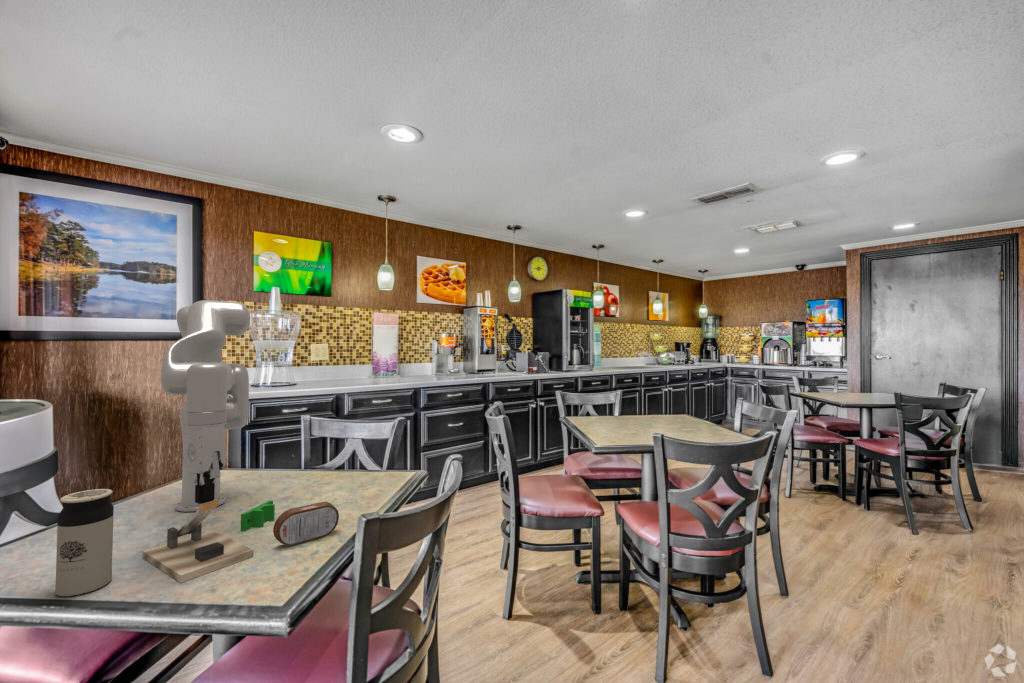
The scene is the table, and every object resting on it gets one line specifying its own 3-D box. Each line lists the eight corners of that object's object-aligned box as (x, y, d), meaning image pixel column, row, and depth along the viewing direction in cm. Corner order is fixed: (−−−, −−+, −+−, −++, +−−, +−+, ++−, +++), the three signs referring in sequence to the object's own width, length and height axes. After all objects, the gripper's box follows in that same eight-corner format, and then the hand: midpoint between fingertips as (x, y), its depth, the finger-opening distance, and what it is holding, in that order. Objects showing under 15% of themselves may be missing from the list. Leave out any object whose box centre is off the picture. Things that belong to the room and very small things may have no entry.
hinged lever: (176, 538, 103) (175, 532, 103) (191, 534, 105) (190, 528, 106) (204, 508, 96) (202, 502, 96) (219, 505, 98) (217, 499, 99)
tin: (335, 530, 116) (335, 497, 116) (340, 533, 114) (340, 500, 114) (272, 547, 105) (273, 511, 106) (276, 551, 103) (277, 515, 103)
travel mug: (84, 576, 91) (87, 488, 92) (122, 577, 91) (124, 488, 92) (42, 597, 83) (45, 500, 84) (83, 598, 83) (86, 501, 84)
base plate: (142, 557, 100) (142, 532, 100) (211, 536, 111) (212, 514, 112) (180, 583, 89) (181, 555, 89) (253, 556, 101) (253, 531, 101)
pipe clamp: (253, 533, 114) (254, 515, 114) (240, 532, 115) (240, 514, 115) (281, 516, 125) (281, 500, 126) (269, 516, 126) (269, 499, 126)
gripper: (172, 418, 100) (170, 500, 100) (203, 423, 92) (200, 513, 92) (209, 414, 107) (207, 491, 106) (241, 419, 99) (239, 503, 98)
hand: (204, 501), depth 99 cm, fingers closed
